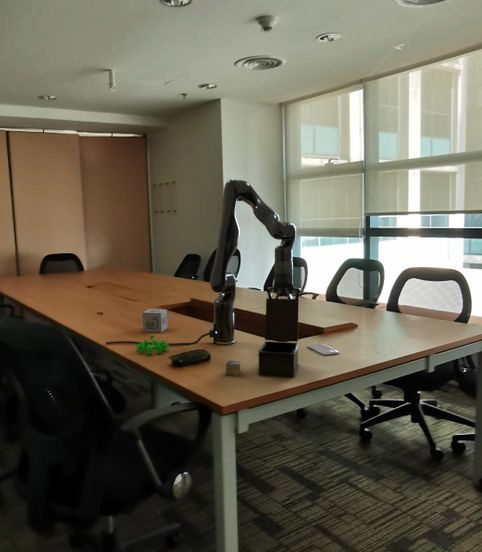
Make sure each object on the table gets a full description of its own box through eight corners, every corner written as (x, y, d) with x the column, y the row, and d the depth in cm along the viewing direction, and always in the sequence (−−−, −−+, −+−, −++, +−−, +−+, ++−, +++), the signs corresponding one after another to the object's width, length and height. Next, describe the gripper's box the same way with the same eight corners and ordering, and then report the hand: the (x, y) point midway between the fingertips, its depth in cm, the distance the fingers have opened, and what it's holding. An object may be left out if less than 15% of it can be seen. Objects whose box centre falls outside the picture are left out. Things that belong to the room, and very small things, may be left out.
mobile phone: (322, 342, 221) (339, 351, 206) (322, 344, 221) (339, 353, 207) (306, 344, 219) (323, 353, 204) (306, 346, 219) (323, 355, 204)
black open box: (293, 377, 178) (293, 353, 177) (258, 375, 181) (258, 351, 180) (297, 364, 193) (297, 342, 192) (265, 362, 196) (265, 341, 195)
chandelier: (145, 358, 207) (145, 341, 206) (129, 350, 219) (128, 335, 218) (175, 351, 216) (175, 336, 215) (158, 344, 228) (158, 330, 227)
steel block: (226, 375, 182) (226, 363, 182) (228, 371, 186) (228, 360, 186) (237, 375, 181) (237, 364, 180) (240, 372, 185) (240, 360, 185)
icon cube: (161, 332, 253) (160, 313, 252) (143, 331, 255) (142, 312, 254) (167, 327, 263) (166, 309, 261) (149, 327, 265) (149, 309, 264)
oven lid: (298, 299, 193) (299, 300, 198) (266, 298, 196) (268, 299, 202) (297, 341, 191) (298, 341, 197) (265, 340, 195) (267, 339, 200)
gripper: (302, 270, 200) (302, 311, 202) (267, 270, 204) (267, 310, 206) (300, 272, 193) (300, 315, 195) (264, 272, 197) (264, 314, 199)
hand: (283, 312), depth 200 cm, fingers closed on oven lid, 5 cm apart
